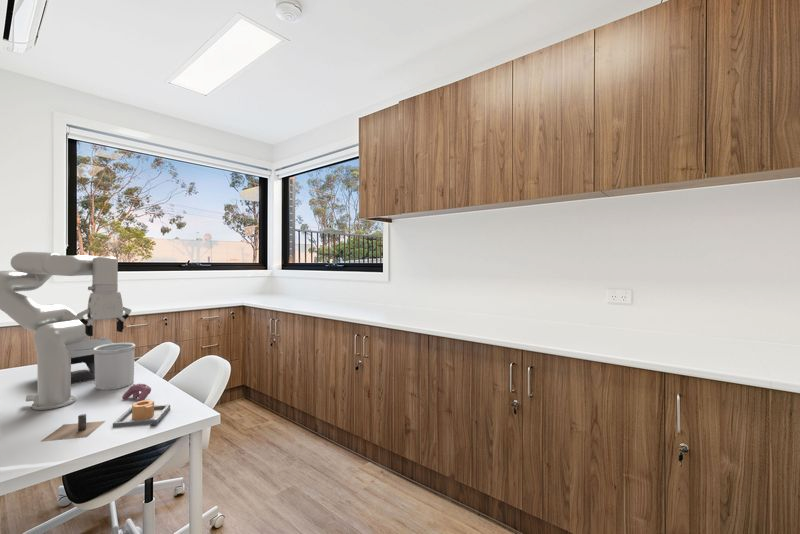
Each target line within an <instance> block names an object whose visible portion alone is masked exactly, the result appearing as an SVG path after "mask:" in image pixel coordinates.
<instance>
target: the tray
mask: <svg viewBox="0 0 800 534" xmlns="http://www.w3.org/2000/svg"><path fill="white" fill-rule="evenodd" d="M157 410H161V411H160V412H159V413H158V414H157V416H156V417H155V418H148V419H145V420H126V421H124V420H125V419H126V418H128V417H129V416H130V414H131V415H132V406H130V407H129V408H128V409H127V410H126V411H125V412H124V413H123V414H121V415H120V416H119V417H118V418H117V419H116V420H115V421H114V422H113V423H112V428H119V427H120V428H121V427H130V426H140V425H142V426H143V425H149V426H150V427H153V426H158V425H159V424H160V422H161V421H162V420H163V419H164V417H165V416H166V415H167V414H168V411H169V412H170V410H171V404H157V405H156V404H154V411H157Z"/></svg>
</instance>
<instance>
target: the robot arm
mask: <svg viewBox="0 0 800 534" xmlns="http://www.w3.org/2000/svg"><path fill="white" fill-rule="evenodd" d="M118 263H119V261H118V258H117V257H115V256H97V255H62V254H60V253H57V252H47V251H23V252H18V253H16V254H15V255H13V256H12V258H11V259H10V266H11V268H13V270H0V310H1V311H2V312H4V313H5V314H6V315H7V316H8V317H10V318H11V319H12V320H13V321H15V323H17V324H18V325H19V326H21V327H22V328H23V329H25V330H27V331H32V332H33V343H34V345H35V350H36V356H37V362H36V365H37V371H36V373H37V380H36V381H37V382H36V383H37V393H36V394H26V396H25V402H33V403H32V404H31V409H32V410H36V411H45V410H46V411H47V410H53V409H58V408H62V407H65V406H68V405H71V404H73V403H74V402H76V400H77V396H76V395H73V394H72V384H71V372H72V365H71V356H70V353H69V352H68V351H67V349H66V348H65V345H69V344H74V343H78V342H81V341H84V340H88V338H89V337H93V336H94V334H93V333H94V331H93V330H94V328H93V327H94V326H93V323H94V322H95V321H101V320H110V319H116V320H117V321H116V332H118V333H122V332H124V328H125V327H124V325H125V322H126V320H127V319H128V318H129V316H130V314H131V312H132V309H130V308H128V307H124V305H123V299H122V294H121V292H120V291H119V290H118V288H119V286H118V284H119V283H118V282H119V281H118V279H119V278H118V270H119V268H118V266H119V264H118ZM52 276H59V277H61V276H62V277H75V276H77V277H79V276H91V277H92V282H91V283H92V284H91V285H90V286H88V287H87V291H91V293H90V294H89V297H88V302H87V308H86V309H84V310H83V311H81V312H79V313H76V312H75V311H74V310H72V309H71V308H70V307H67V306H66V305H63V304H60V303H55V304H54V303H53V304H38V303H37V302H35V301H34V300H33V299H31V298H30V297H28V296H27V295H25V294H21V293H20V292H29V291H35V290H37V289H39V288H40V287H42V286H43V285H44V284H45V283H46V282H47V281H48V280H49V279H50V278H51V277H52ZM85 315H86V316H87V318H86V319H85V317H84V316H85Z"/></svg>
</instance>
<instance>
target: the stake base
mask: <svg viewBox="0 0 800 534" xmlns="http://www.w3.org/2000/svg"><path fill="white" fill-rule="evenodd" d="M77 420H78V421H77V422H78V423H67V424H66V423H65V424H63V425H61V426H59V427H58V428H57V429H55V430H54V431H53V432H52V433H49V434H48V435H47V436H45V438H43V439H41V440H40V441H39V442H49V441H59V440H72V439H80V438H83V439H84V438H88V437H89V436H90V435H91V434H92V433H94V432H95V431H96V430H97V429H98V428H100V427H101V426H102V425H103V424H104V423H105V422H106V420H101V421H88V422H87V414H86V413H82V414H79V415H78V417H77Z"/></svg>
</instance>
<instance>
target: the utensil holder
mask: <svg viewBox="0 0 800 534" xmlns="http://www.w3.org/2000/svg"><path fill="white" fill-rule="evenodd" d="M135 348H136V344H135V343H134V342H116V343H115V342H114V343H113V344H106V345H101V346H98V347H95V348H94V349H93V351H94V362H95V379H94V384H95V389H97V390H99V389H100V391H109V390H110V389H111V390H116V389H117V388H118V389H121V387H122V388H125V386H126V387H128V386H130V385H133V384H134V382H135V381H134V380H135ZM127 385H128V386H127Z"/></svg>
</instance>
